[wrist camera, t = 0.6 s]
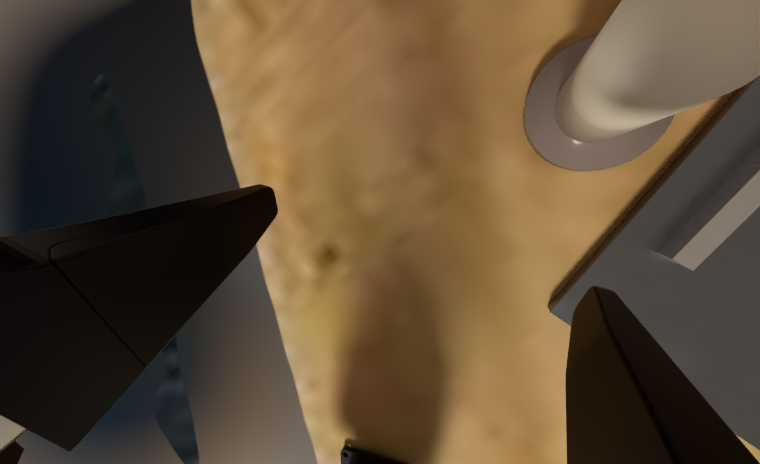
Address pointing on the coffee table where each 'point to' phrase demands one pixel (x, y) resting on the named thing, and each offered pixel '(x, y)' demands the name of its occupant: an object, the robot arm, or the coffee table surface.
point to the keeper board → (696, 263)
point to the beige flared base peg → (639, 78)
